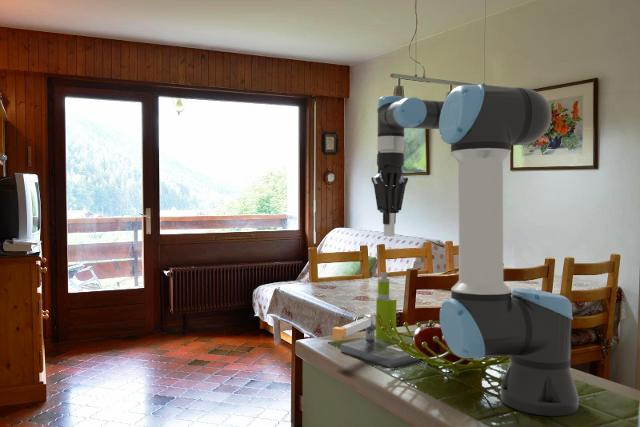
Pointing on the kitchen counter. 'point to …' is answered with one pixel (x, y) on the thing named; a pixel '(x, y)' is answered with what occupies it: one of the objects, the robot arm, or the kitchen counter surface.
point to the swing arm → (354, 327)
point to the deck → (377, 351)
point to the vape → (385, 308)
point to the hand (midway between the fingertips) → (388, 235)
